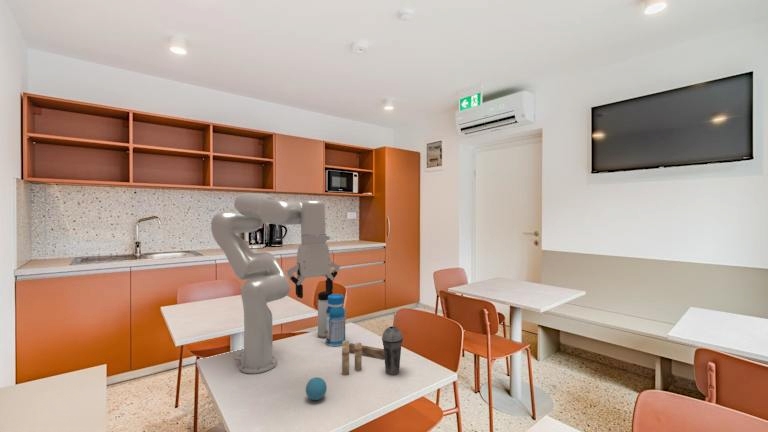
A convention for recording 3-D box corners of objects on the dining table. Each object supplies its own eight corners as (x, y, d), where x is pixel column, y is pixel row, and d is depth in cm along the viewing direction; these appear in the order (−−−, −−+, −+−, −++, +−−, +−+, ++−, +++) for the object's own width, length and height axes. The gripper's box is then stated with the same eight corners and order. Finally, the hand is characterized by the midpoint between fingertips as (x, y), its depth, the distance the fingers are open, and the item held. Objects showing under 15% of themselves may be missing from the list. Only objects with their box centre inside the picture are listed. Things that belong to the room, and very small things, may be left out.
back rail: (387, 357, 126) (387, 349, 126) (385, 359, 125) (385, 351, 125) (350, 350, 133) (350, 343, 133) (347, 352, 131) (347, 344, 131)
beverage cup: (377, 372, 115) (377, 314, 115) (391, 365, 120) (391, 310, 120) (393, 379, 110) (393, 319, 110) (407, 371, 115) (407, 314, 115)
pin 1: (341, 368, 118) (341, 342, 118) (343, 365, 120) (343, 340, 120) (348, 368, 117) (348, 343, 117) (350, 365, 120) (350, 340, 120)
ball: (302, 403, 96) (302, 382, 96) (310, 392, 102) (310, 372, 102) (322, 405, 95) (322, 384, 95) (329, 394, 101) (329, 374, 101)
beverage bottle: (336, 348, 135) (336, 299, 135) (321, 344, 140) (321, 296, 140) (349, 341, 142) (349, 295, 142) (334, 337, 147) (334, 292, 147)
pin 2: (353, 370, 116) (353, 345, 116) (355, 367, 118) (355, 342, 118) (360, 371, 115) (360, 345, 115) (362, 368, 118) (362, 342, 118)
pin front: (341, 375, 113) (341, 348, 113) (343, 371, 115) (343, 345, 115) (348, 375, 112) (348, 349, 112) (350, 372, 115) (350, 346, 115)
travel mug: (329, 339, 145) (329, 293, 145) (315, 337, 147) (315, 292, 146) (334, 334, 151) (334, 290, 151) (321, 332, 153) (321, 289, 153)
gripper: (333, 238, 112) (334, 289, 112) (282, 241, 102) (283, 297, 102) (343, 239, 106) (345, 293, 106) (290, 242, 96) (292, 301, 96)
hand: (314, 295), depth 104 cm, fingers open, 9 cm apart
